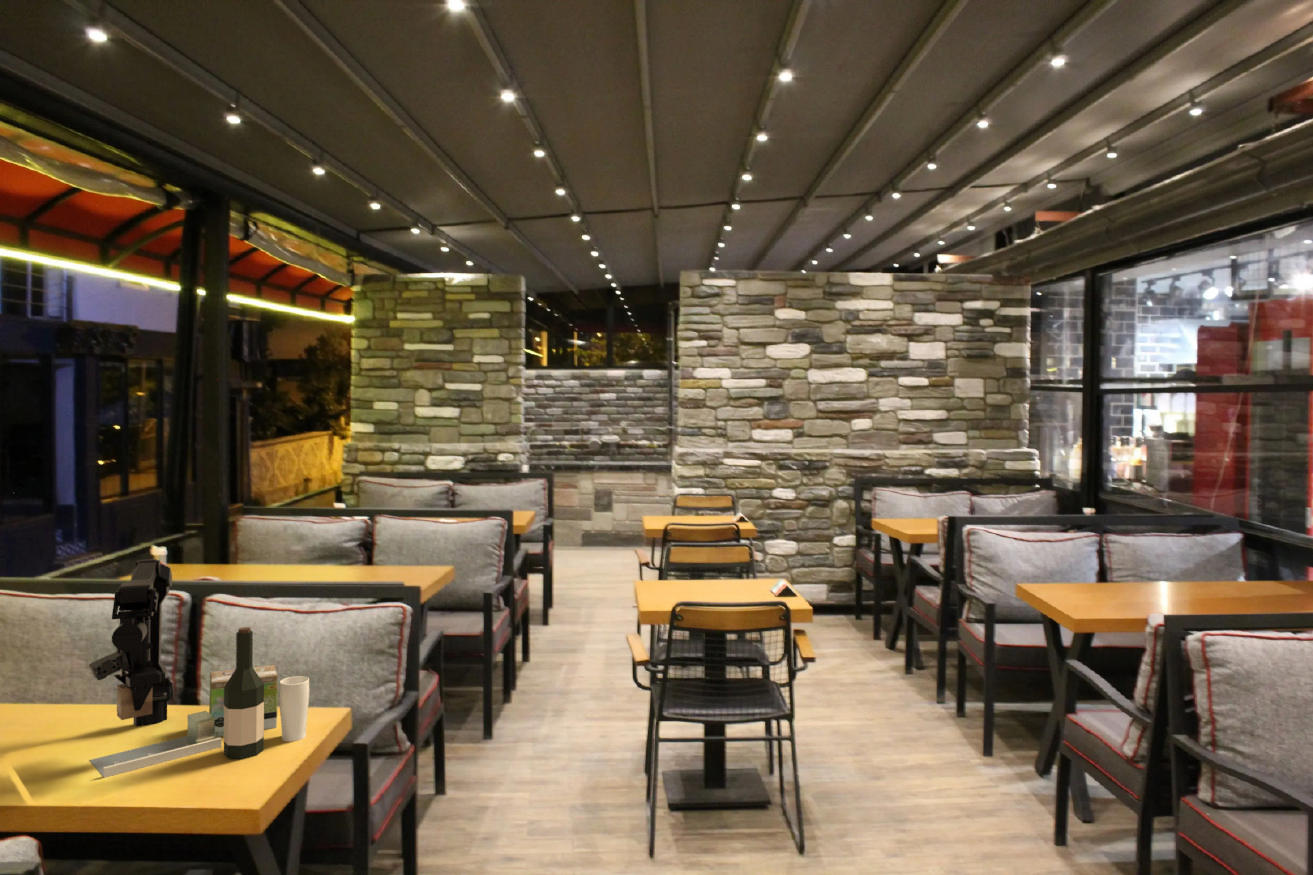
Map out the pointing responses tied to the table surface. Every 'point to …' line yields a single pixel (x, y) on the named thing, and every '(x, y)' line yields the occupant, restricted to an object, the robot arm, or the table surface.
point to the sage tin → (200, 727)
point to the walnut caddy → (131, 704)
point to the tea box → (270, 696)
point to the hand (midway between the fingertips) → (135, 708)
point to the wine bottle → (243, 704)
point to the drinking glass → (294, 707)
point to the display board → (150, 755)
